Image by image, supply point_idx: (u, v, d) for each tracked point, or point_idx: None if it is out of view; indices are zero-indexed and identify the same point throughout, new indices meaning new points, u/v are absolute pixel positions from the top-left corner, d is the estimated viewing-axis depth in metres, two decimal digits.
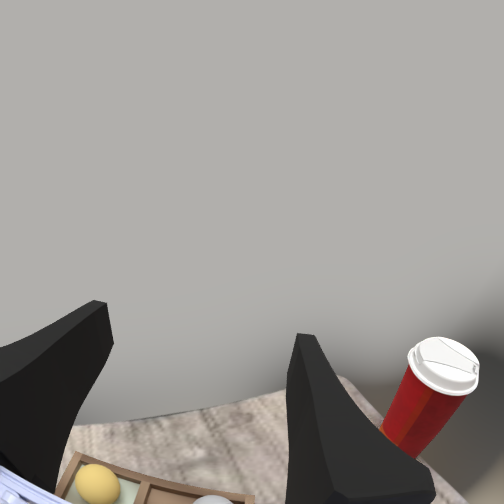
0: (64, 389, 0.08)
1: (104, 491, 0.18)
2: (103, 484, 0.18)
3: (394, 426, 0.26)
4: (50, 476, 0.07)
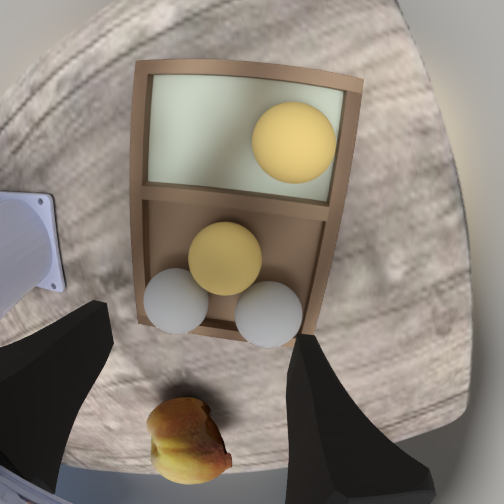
0: (64, 389, 0.08)
1: (272, 170, 0.14)
2: (284, 168, 0.14)
3: None
4: (50, 476, 0.07)
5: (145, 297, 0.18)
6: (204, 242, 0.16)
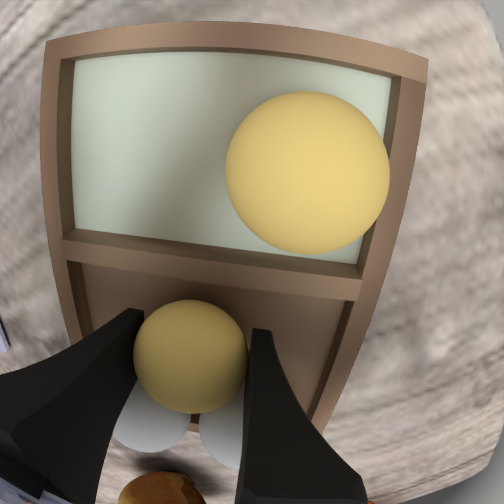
0: (104, 403, 0.08)
1: (265, 234, 0.07)
2: (289, 235, 0.07)
3: None
4: (90, 493, 0.07)
5: None
6: (151, 345, 0.09)
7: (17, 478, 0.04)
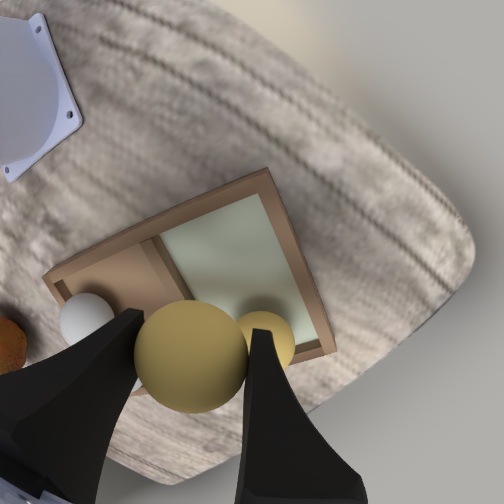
0: (104, 403, 0.08)
1: None
2: None
3: None
4: (90, 493, 0.07)
5: (68, 324, 0.17)
6: (152, 345, 0.09)
7: (17, 478, 0.04)
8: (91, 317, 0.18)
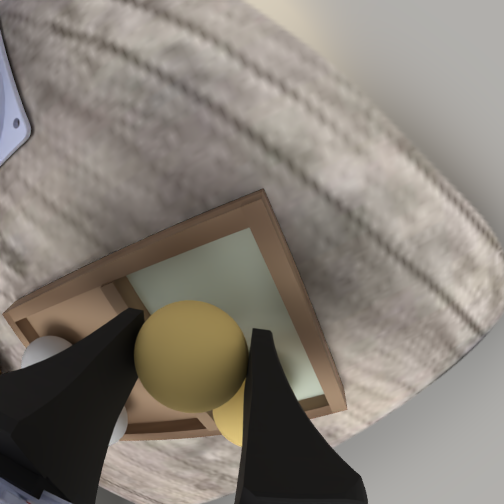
0: (104, 403, 0.08)
1: (219, 424, 0.13)
2: (226, 435, 0.13)
3: None
4: (90, 494, 0.07)
5: None
6: (152, 345, 0.09)
7: (17, 478, 0.04)
8: None
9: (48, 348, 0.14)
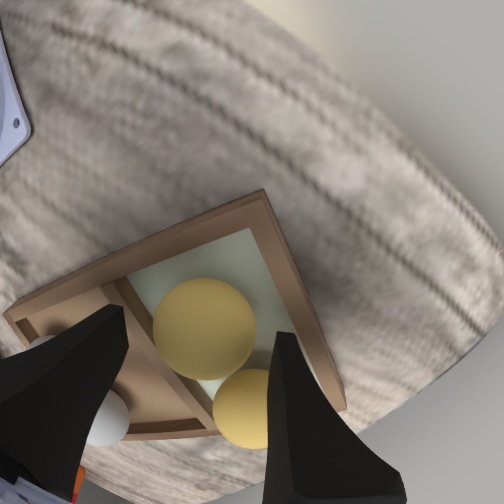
0: (82, 395, 0.08)
1: (219, 424, 0.13)
2: (226, 435, 0.13)
3: None
4: (67, 484, 0.07)
5: None
6: (174, 316, 0.11)
7: None
8: None
9: None
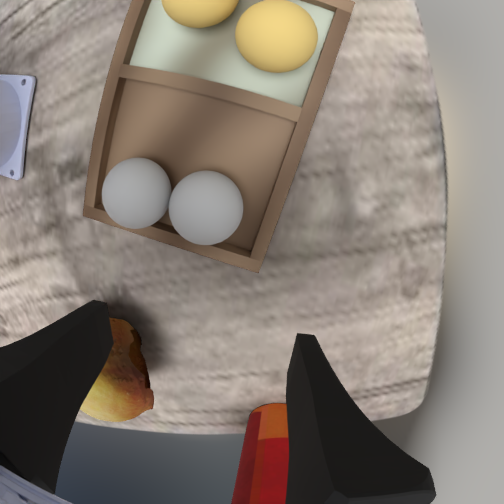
0: (64, 389, 0.08)
1: (249, 47, 0.12)
2: (261, 45, 0.12)
3: (274, 455, 0.21)
4: (50, 476, 0.07)
5: (108, 186, 0.15)
6: None
7: None
8: (127, 162, 0.16)
9: (117, 164, 0.16)
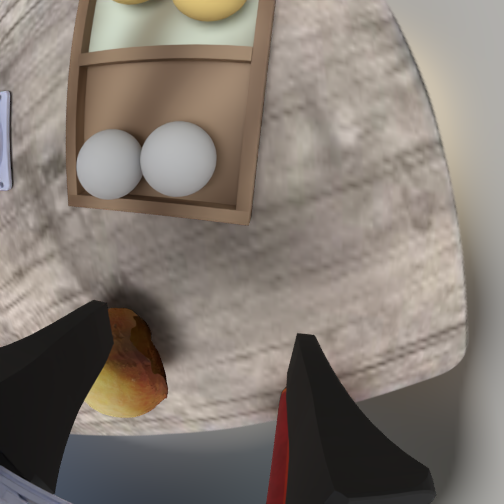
0: (64, 389, 0.08)
1: (184, 0, 0.11)
2: None
3: None
4: (50, 476, 0.07)
5: (80, 157, 0.15)
6: None
7: None
8: (96, 133, 0.15)
9: None
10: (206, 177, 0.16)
